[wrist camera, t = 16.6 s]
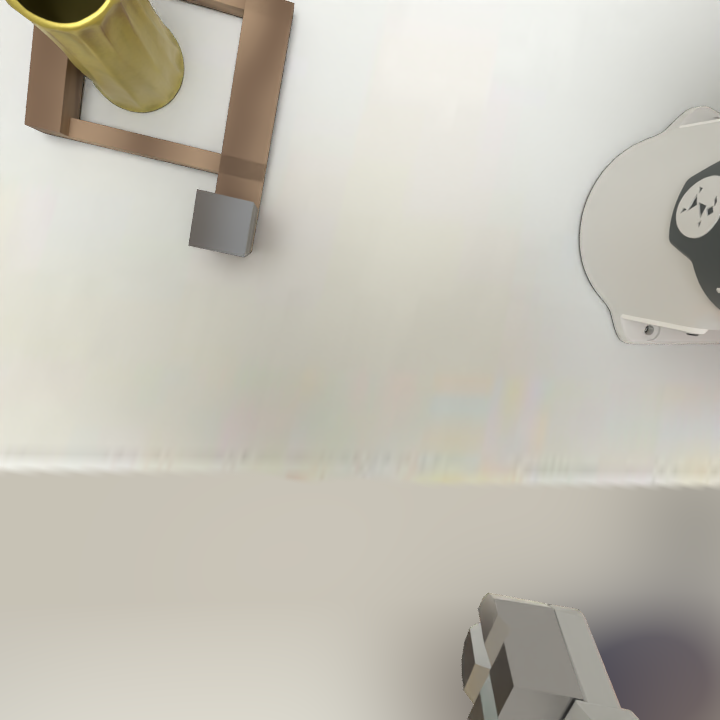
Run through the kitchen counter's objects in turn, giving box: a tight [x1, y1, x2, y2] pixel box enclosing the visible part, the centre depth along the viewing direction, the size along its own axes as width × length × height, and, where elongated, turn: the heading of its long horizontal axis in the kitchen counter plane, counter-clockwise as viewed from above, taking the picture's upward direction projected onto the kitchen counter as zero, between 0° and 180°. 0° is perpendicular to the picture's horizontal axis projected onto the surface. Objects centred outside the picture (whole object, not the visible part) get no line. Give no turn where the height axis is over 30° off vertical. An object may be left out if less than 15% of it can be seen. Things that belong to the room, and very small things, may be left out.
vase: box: [6, 0, 184, 112], centre depth 30 cm, size 6×6×14 cm
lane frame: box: [25, 0, 294, 257], centre depth 32 cm, size 14×16×10 cm
